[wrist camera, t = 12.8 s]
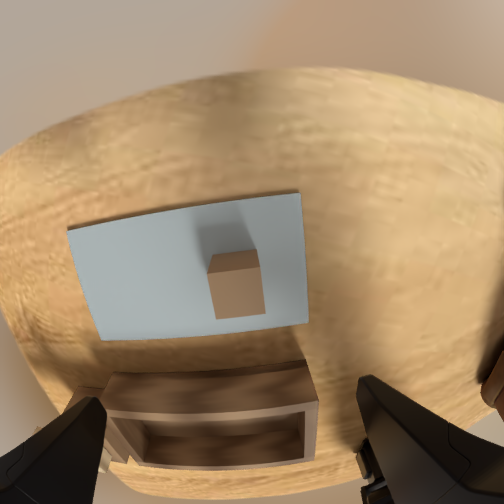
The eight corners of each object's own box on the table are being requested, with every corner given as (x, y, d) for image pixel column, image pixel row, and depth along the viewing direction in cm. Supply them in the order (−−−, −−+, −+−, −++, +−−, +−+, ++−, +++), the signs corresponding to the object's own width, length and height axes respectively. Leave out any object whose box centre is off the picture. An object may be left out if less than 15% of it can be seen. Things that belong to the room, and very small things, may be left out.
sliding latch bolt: (100, 443, 17) (93, 460, 15) (112, 456, 18) (106, 473, 16) (37, 426, 17) (29, 439, 15) (48, 440, 18) (42, 453, 16)
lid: (297, 191, 19) (314, 199, 14) (305, 316, 22) (319, 349, 17) (72, 228, 19) (40, 243, 14) (105, 334, 22) (85, 364, 17)
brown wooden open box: (305, 359, 22) (335, 453, 13) (305, 424, 25) (323, 500, 16) (68, 369, 22) (26, 434, 13) (106, 428, 25) (83, 489, 15)
